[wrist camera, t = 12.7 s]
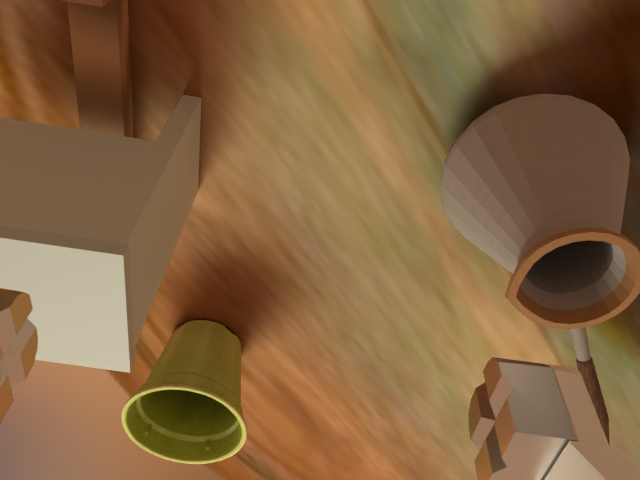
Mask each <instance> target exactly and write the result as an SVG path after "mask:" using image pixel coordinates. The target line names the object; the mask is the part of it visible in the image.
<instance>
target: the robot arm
mask: <svg viewBox="0 0 640 480" xmlns="http://www.w3.org/2000/svg"><path fill="white" fill-rule="evenodd" d="M32 309H33V307H32V303H31V299H30V295H29V294H27V293H25V292H21V291H15V290H9V289H3V288H0V424H1V421H2V420H3V418H4V417H5V415H6V413H7V411H8V410H9V408H10V406H11V404H12V402H13V401H14V399H13V395H12V390H11V388H12V387H14V386H16V385H17V384H19V383H21V382H22V381H24V380H26V378H27V376H28V374H29V372H30V370H31V368H32V366H33V363H34V360H35V357H36V353H37V349H38V334H37V328H36V326H35V325H34V324H33V323H32V322H30V321H29V320H28V319H27V318H28V316H29V314H30V313H31V311H32ZM483 373H484V378H485V383H483V384H482V385H480V386H478V387H476V389H475V391H474V394H473V396H472V399H471V402H470V408H469V431H470V437H471V440H472V441H473V442H474V444H475V445H476V446H477V447H478V448H479V449H480V451H479V453H478V455H477V457H476V460H475V466H476V472H477V477H478V480H640V468H639V467H638V466H637V465H636V464H635V463H634V462H632V461H631V460H630V459H629V458H628V457H627V456H626V455H625V454H624V453H623V452H622V451H621V450H620V449H619V448H618V447H612V446H609V444H608V442H607V439H606V437H605V434H604V432H603V429H602V426H601V424H600V421H599V419H598V416H597V414H596V411H595V409H594V406H593V403H592V401H591V398H590V396H589V393H588V391H587V388H586V386H585V383H584V381H583V378H582V375H581V373H580V372H579V371H578V370H577V369H576V368H571V367H563V366H556V365H545V364H540V363H532V362H525V361H517V360H509V359H502V358H494V357H492V358H491V359H490V360H489V361H488V362H487V365H486V367H485V369H484V371H483Z"/></svg>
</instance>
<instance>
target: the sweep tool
mask: <svg viewBox="0 0 640 480" xmlns="http://www.w3.org/2000/svg"><path fill="white" fill-rule="evenodd" d="M61 1H67V9H68V18H69V28H70V37H71V47H72V56H73V65H74V75H75V84H76V94H77V103H78V113H79V122H80V130H85V131H92V132H98V133H105V134H111V135H118V136H124V137H131V138H134V120H133V99H132V78H131V57H130V36H129V15H128V0H61Z"/></svg>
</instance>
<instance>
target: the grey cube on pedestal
mask: <svg viewBox="0 0 640 480" xmlns="http://www.w3.org/2000/svg"><path fill="white" fill-rule="evenodd" d="M200 127H201V97H195V96H189V95H182V97H181V99H180V100H179V102H178V104H177V105H176V107H175V109H174V111H173V112H172V114H171V116H170V118H169V119H168V121H167V123H166V124H165V126H164V128H163V130H162V131H161V133H160V135H159V137H158V138H157V140H156V141H150V140H144V139H137V138H131V137H124V136H118V135H111V134H105V133H98V132H92V131H85V130H79V129H72V128H66V127H59V126H53V125H46V124H40V123H33V122H27V121H20V120H14V119H7V118H1V117H0V288H3V289H9V290H15V291H21V292H25V293H27V294H29V295H30V299H31V303H32V307H33V309H32V311H31V313H30V314H29V316H28V318H27V319H28V320H29V321H30V322H32V323H33V324H34V325H35V326H36V328H37V334H38V349H37V353H36V357H35V360H42V361H49V362H56V363H64V364H71V365H78V366H86V367H93V368H100V369H108V370H115V371H122V372H129V373H130V372H131V369H132V367H133V364H134V362H135V350H134V348H135V346H136V343H137V341H138V338H139V336H140V333H141V331H142V328H143V326H144V323H145V321H146V318H147V316H148V313H149V311H150V308H151V306H152V304H153V301H154V299H155V296H156V294H157V291H158V289H159V286H160V284H161V281H162V279H163V276H164V274H165V271H166V269H167V266H168V264H169V261H170V259H171V256H172V254H173V251H174V249H175V246H176V244H177V241H178V239H179V236H180V234H181V231H182V229H183V227H184V224H185V222H186V219H187V217H188V214H189V212H190V209H191V207H192V204H193V202H194V199H195V197H196V194H197V192H198V189H199V159H200Z"/></svg>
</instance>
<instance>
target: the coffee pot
mask: <svg viewBox="0 0 640 480" xmlns="http://www.w3.org/2000/svg"><path fill="white" fill-rule="evenodd" d="M629 165H630V157H629V152H628V148H627V144H626V139H625V136H624V135H623V133H622V131H621V130H620V128H619V127H618V125H617V124H616V122H615V121H614V119H613V118H612V117H610V116H609V115H608V114H606V113H605V112H604V111H603V110H601V109H600V108H599V107H597V106H596V105H594V104H593V103H590V102H587V101H584V100H582V99H579V98H576V97H573V96H570V95H558V94H546V93H543V94H535V95H529V96H522V97H516V98H514V99H511V100H509V101H506V102H504V103H501V104H499V105H497V106H494V107H492V108H491V109H489V110H488V111H487V112H485V113H484V114H482V115H481V116H479V117H478V118H476V119H475V120H474V121H473V122H472V123H471V124H470V125H469V126H468V127H467V128H466V129H465V131H464V132H463V133H462V134H461V135H460V136H459V137H458V138H457V140H456V141H455V142H454V144H453V146H452V148H451V150H450V152H449V154H448V156H447V158H446V160H445V162H444V167H443V172H442V176H441V181H440V188H441V198H442V204H443V207H444V209H445V211H446V213H447V216H448V218H449V220H450V222H451V223H452V224H453V225H454V227H455V228H456V229H457V230H458V231H459V232H460V233H461V234H462V235H463V237H465V238H466V239H467V240H469V241H470V242H471V243H473V244H474V245H475V246H477V247H478V248H479V249H481V250H482V251H483V252H484V253H486V254H487V255H488V256H490V257H491V258H492V259H494V260H495V261H496V262H498V263H499V264H500V265H502V266H503V267H504V268H506V269H507V270H508V271H510V272H511V273H512V274H513V275H512V277H511V279H510V281H509V285H508V288H507V291H506V295H505V297H506V298H507V299H508V300H509V301H510V302H511V304H512V305H513V306H514V307H515V308H516V309H517V310H518V311H520V312H521V313H522V314H523V315H524V316H526V317H527V318H529V319H530V320H532V321H534V322H535V323H537V324H540V325H543V326H546V327H550V328H556V329H570V332H571V336H572V340H573V344H574V348H575V352H576V356H577V359H576V362H577V368H578V371H579V372H580V373H581V375H582V378H583V381H584V383H585V386H586V388H587V391H588V393H589V396H590V398H591V401H592V403H593V406H594V409H595V411H596V414H597V416H598V419H599V421H600V424H601V426H602V429H603V432H604V434H605V437H606V439H607V442H608V444H609V419H608V414H607V410H606V407H605V403H604V399H603V396H602V392H601V389H600V385H599V381H598V378H597V374H596V370H595V367H594V363H593V359H592V357H591V356H590V351H589V345H588V340H587V334H586V329H585V327H588V326H592V325H595V324H599V323H601V322H603V321H606V320H608V319H610V318H612V317H614V316H616V315H617V314H618V313H620V312H621V311H622V310H624V309H625V308H626V307H628V306H629V305H630V303H631V302H632V301H633V300H634V299H635V298H636V297H637V296H638V294H639V292H640V250H639V248H638V247H637V246H636V244H635V243H633V242H632V241H630V240H629V239H628V238H626V237H625V236H623V235H621V234H620V231H621V224H622V218H623V211H624V204H625V197H626V190H627V183H628V174H629ZM609 446H610V445H609Z"/></svg>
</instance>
